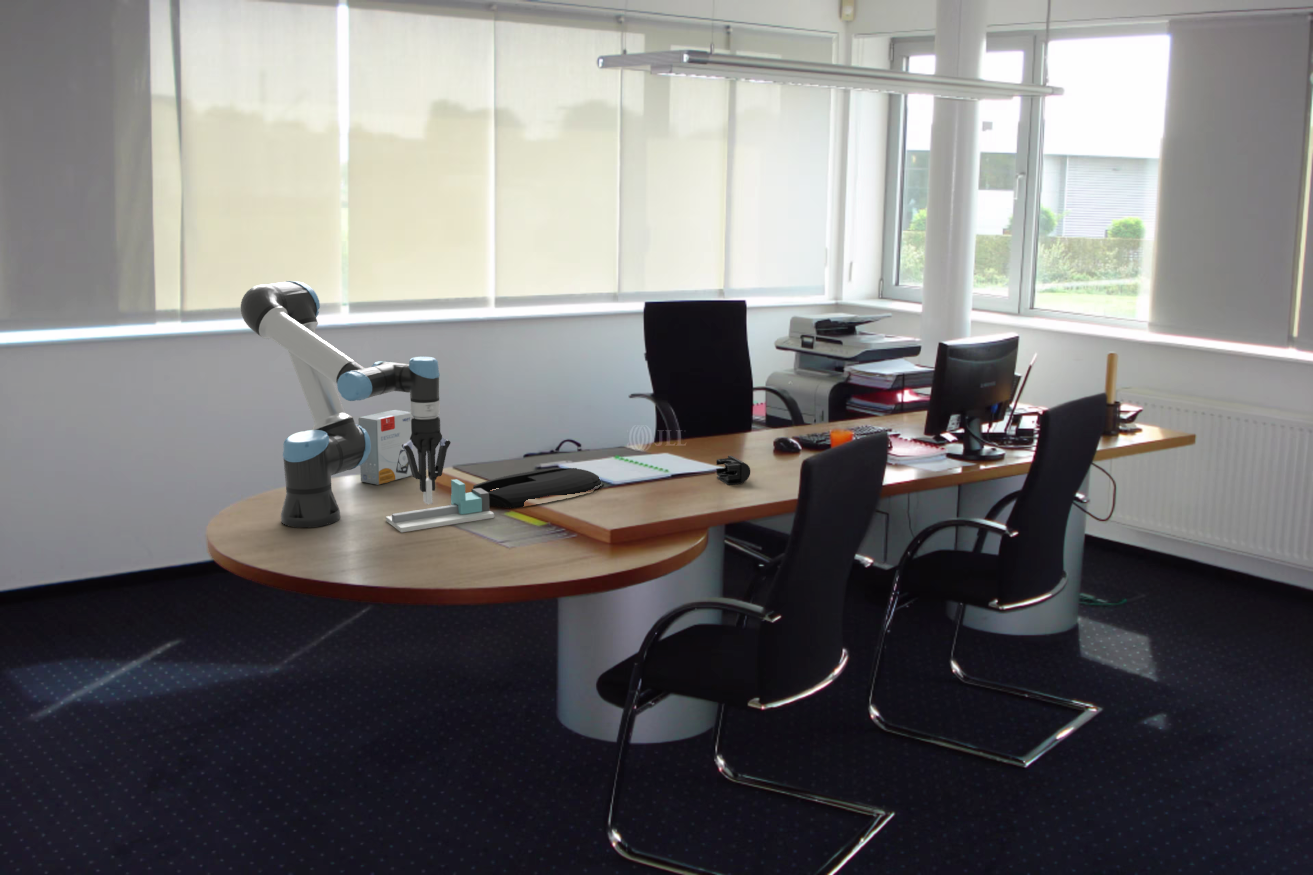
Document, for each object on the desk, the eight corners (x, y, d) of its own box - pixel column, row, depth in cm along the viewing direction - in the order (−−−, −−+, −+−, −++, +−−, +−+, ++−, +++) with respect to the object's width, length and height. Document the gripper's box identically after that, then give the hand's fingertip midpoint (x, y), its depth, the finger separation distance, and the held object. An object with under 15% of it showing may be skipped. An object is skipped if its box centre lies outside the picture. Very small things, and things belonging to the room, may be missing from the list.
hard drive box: (378, 486, 352) (375, 420, 347) (360, 482, 356) (356, 417, 351) (415, 474, 365) (412, 411, 360) (396, 471, 369) (393, 408, 364)
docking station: (621, 490, 349) (621, 473, 348) (502, 514, 325) (502, 496, 324) (573, 473, 368) (573, 457, 367) (457, 494, 344) (457, 478, 343)
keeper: (461, 514, 317) (460, 485, 315) (451, 508, 323) (450, 479, 321) (482, 511, 320) (481, 482, 318) (471, 505, 326) (470, 476, 324)
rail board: (401, 532, 307) (400, 509, 305) (386, 520, 317) (384, 498, 315) (494, 517, 320) (493, 495, 318) (476, 507, 330) (476, 485, 328)
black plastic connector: (750, 483, 355) (750, 461, 354) (728, 486, 353) (729, 463, 351) (736, 476, 364) (737, 454, 363) (715, 478, 362) (715, 456, 360)
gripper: (406, 421, 304) (409, 509, 309) (454, 416, 311) (456, 503, 316) (396, 416, 310) (399, 502, 316) (443, 411, 317) (445, 496, 322)
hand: (428, 502), depth 316 cm, fingers closed
